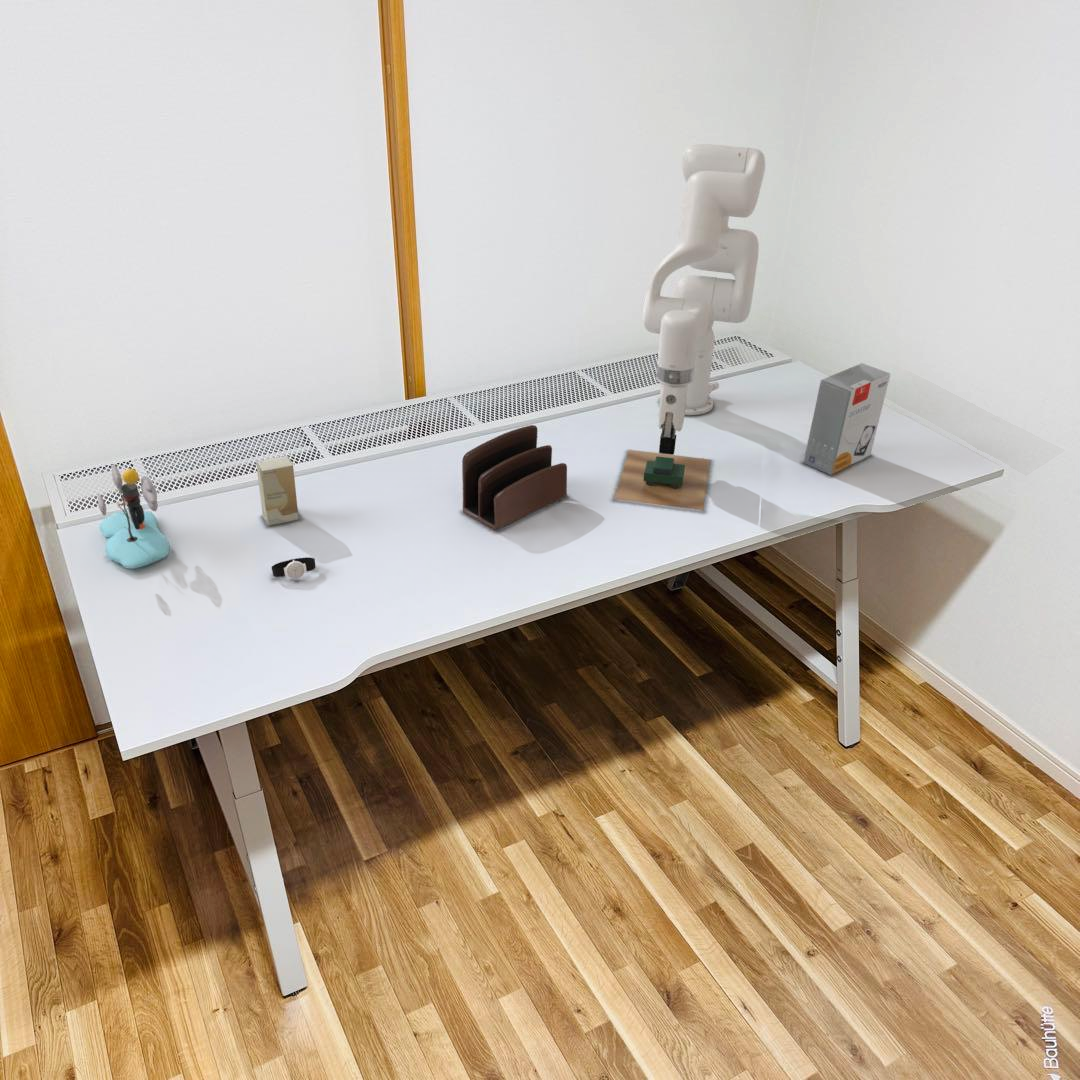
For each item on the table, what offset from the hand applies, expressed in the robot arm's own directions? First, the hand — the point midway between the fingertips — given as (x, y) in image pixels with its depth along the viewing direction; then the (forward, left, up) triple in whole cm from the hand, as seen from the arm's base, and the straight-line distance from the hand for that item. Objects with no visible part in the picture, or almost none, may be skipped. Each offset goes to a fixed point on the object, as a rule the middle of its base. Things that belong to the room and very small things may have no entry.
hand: (666, 452), depth 210 cm
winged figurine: (+97, -45, -4) cm, 108 cm away
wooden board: (+4, +3, -4) cm, 6 cm away
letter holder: (+34, -10, -4) cm, 36 cm away
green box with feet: (+2, +2, -2) cm, 4 cm away
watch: (+80, -18, -4) cm, 82 cm away
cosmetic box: (+72, -36, -4) cm, 81 cm away
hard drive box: (-33, +22, -4) cm, 40 cm away
